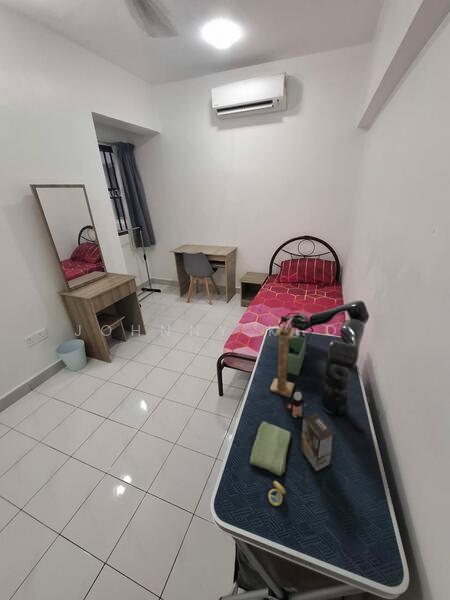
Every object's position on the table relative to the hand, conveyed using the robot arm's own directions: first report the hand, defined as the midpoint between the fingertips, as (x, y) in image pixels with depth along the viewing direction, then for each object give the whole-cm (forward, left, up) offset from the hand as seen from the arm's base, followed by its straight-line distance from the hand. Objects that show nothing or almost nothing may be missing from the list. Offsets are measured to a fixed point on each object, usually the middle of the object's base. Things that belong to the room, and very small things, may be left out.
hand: (293, 321), depth 117 cm
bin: (+3, -4, -30) cm, 30 cm away
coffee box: (-42, +20, -30) cm, 55 cm away
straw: (-7, +9, +4) cm, 12 cm away
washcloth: (-33, +33, -30) cm, 56 cm away
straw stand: (-10, +11, -30) cm, 33 cm away
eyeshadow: (-47, +40, -30) cm, 69 cm away
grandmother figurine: (-25, +15, -30) cm, 42 cm away
